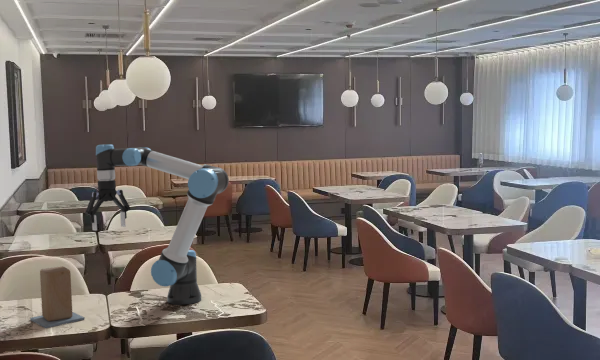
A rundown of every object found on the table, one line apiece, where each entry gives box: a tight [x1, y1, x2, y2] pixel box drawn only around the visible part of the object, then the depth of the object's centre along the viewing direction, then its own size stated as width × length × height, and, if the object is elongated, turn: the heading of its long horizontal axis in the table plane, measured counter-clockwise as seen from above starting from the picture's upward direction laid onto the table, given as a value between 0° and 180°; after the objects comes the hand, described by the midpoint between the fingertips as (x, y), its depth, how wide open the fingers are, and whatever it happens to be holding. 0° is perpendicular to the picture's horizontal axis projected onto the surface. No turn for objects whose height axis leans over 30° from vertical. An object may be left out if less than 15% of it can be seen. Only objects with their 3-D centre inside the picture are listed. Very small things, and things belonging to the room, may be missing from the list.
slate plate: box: [29, 311, 86, 329], centre depth 271 cm, size 16×16×1 cm
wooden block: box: [39, 266, 73, 321], centre depth 270 cm, size 10×10×20 cm
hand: (109, 228), depth 290 cm, fingers open, 13 cm apart
